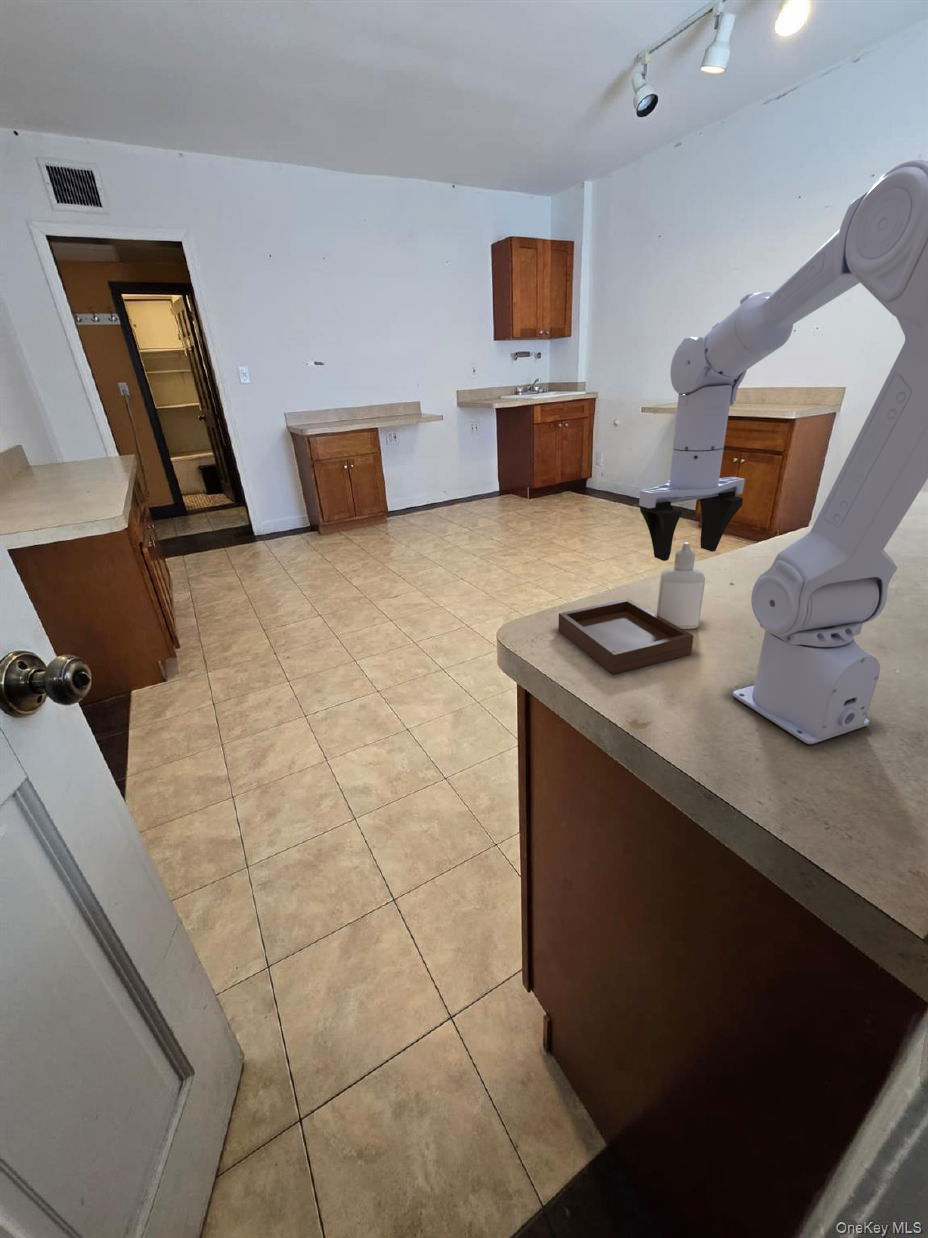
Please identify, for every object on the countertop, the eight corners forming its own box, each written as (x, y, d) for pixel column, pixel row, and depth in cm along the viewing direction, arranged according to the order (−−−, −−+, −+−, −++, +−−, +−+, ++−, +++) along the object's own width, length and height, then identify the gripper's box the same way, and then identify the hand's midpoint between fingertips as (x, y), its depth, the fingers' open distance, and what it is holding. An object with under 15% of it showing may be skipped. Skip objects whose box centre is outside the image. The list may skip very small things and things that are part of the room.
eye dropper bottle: (689, 635, 70) (700, 550, 65) (650, 624, 73) (658, 543, 68) (703, 624, 72) (715, 542, 67) (665, 614, 76) (673, 535, 71)
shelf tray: (691, 654, 65) (694, 635, 64) (612, 674, 62) (614, 655, 61) (627, 615, 77) (628, 598, 76) (558, 630, 74) (558, 613, 73)
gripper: (720, 439, 68) (707, 538, 74) (627, 451, 64) (620, 554, 70) (764, 444, 62) (746, 551, 68) (665, 456, 58) (654, 569, 64)
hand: (685, 554), depth 69 cm, fingers open, 7 cm apart
